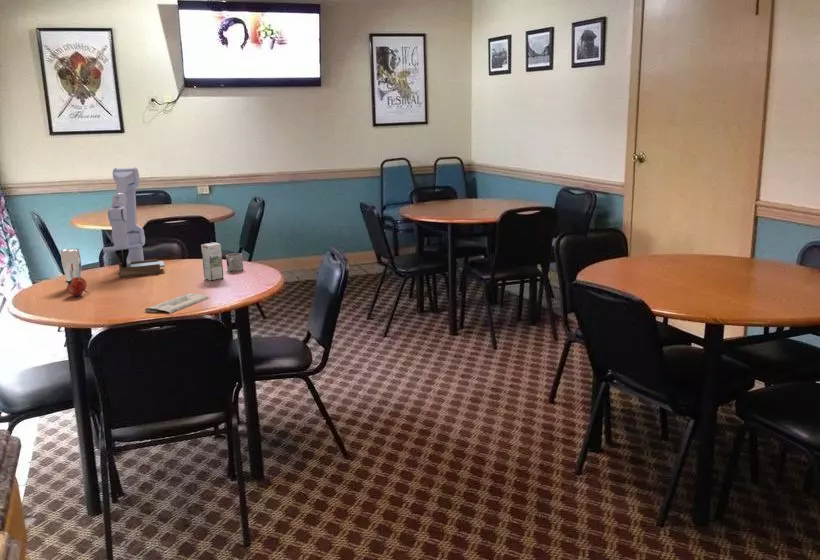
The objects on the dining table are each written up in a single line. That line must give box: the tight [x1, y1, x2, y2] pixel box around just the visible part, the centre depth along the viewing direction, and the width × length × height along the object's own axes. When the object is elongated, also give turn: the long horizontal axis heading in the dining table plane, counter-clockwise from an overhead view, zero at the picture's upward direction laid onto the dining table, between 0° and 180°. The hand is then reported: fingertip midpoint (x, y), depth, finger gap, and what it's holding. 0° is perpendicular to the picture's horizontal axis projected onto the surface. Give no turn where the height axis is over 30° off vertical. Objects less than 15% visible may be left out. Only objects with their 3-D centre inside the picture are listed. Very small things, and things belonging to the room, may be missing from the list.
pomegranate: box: [65, 276, 90, 297], centre depth 268 cm, size 7×7×10 cm
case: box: [118, 258, 161, 279], centre depth 306 cm, size 13×16×4 cm
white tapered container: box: [60, 248, 82, 286], centre depth 282 cm, size 7×7×15 cm
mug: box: [225, 252, 244, 272], centre depth 302 cm, size 10×7×7 cm
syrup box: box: [200, 242, 224, 281], centre depth 286 cm, size 6×6×14 cm
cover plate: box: [126, 260, 166, 268], centre depth 306 cm, size 11×15×3 cm
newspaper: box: [144, 292, 210, 315], centre depth 249 cm, size 23×12×2 cm, turn 159°
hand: (124, 267), depth 303 cm, fingers closed
